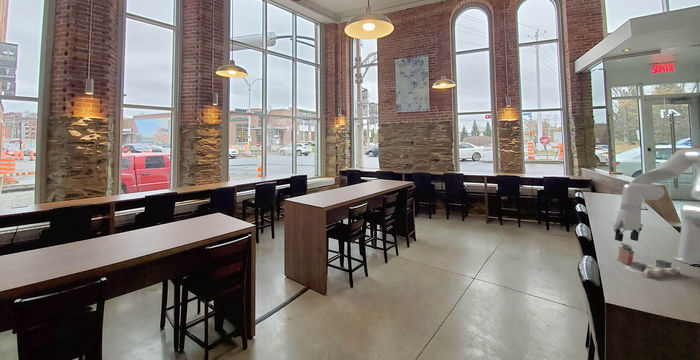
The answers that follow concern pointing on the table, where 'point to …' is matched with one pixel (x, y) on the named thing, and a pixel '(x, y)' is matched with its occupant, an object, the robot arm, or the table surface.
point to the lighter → (625, 254)
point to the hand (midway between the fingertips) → (626, 240)
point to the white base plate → (653, 269)
